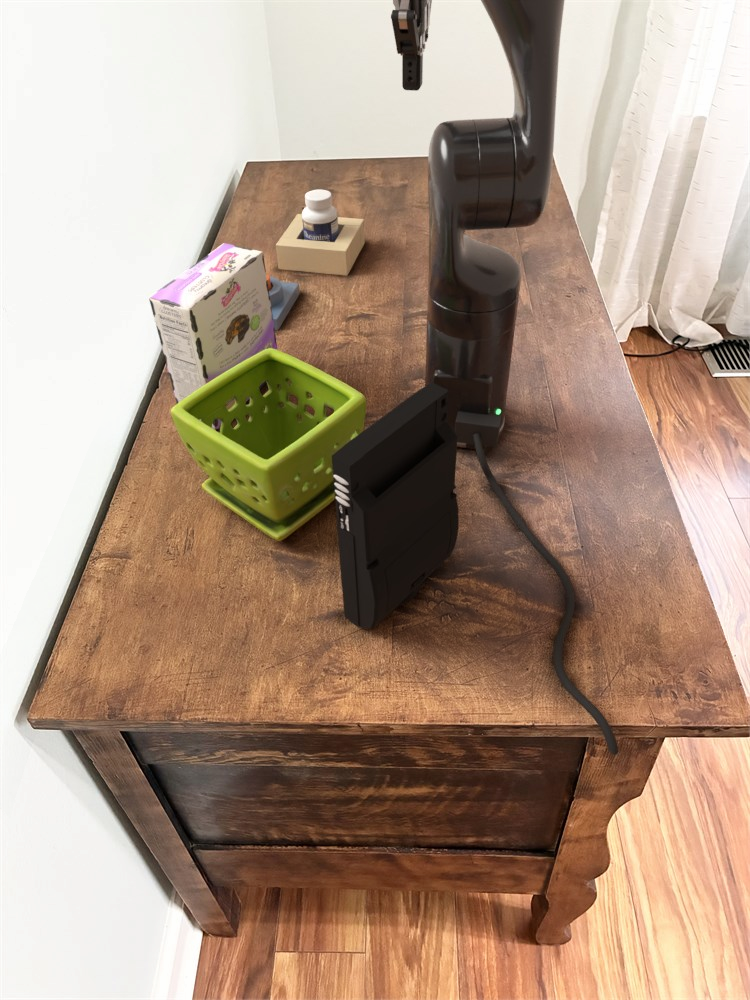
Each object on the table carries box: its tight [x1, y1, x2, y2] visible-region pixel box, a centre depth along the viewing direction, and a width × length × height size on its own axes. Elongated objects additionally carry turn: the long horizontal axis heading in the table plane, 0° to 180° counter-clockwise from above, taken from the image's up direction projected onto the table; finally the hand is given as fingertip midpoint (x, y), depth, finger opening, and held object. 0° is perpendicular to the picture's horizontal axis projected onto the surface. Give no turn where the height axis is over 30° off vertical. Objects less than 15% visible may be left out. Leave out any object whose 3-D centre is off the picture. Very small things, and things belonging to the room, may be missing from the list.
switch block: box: [269, 275, 301, 331], centre depth 107 cm, size 10×8×4 cm
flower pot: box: [170, 348, 367, 542], centre depth 76 cm, size 14×14×13 cm
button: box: [266, 272, 271, 290], centre depth 105 cm, size 3×3×2 cm
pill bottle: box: [301, 188, 339, 242], centre depth 115 cm, size 5×5×10 cm
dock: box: [275, 213, 366, 276], centre depth 117 cm, size 11×11×4 cm
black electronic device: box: [332, 382, 460, 630], centre depth 64 cm, size 12×5×20 cm, turn 139°
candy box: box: [148, 242, 278, 431], centre depth 88 cm, size 14×6×16 cm, turn 152°
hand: (412, 88), depth 92 cm, fingers closed
